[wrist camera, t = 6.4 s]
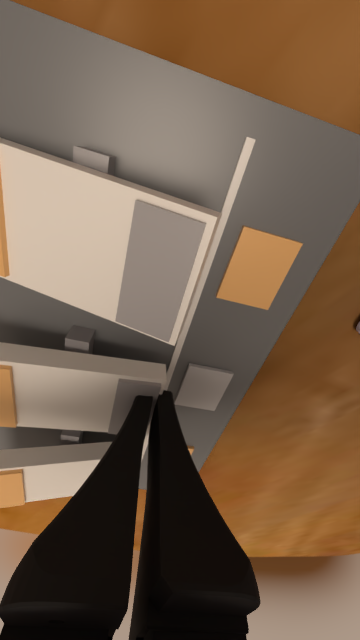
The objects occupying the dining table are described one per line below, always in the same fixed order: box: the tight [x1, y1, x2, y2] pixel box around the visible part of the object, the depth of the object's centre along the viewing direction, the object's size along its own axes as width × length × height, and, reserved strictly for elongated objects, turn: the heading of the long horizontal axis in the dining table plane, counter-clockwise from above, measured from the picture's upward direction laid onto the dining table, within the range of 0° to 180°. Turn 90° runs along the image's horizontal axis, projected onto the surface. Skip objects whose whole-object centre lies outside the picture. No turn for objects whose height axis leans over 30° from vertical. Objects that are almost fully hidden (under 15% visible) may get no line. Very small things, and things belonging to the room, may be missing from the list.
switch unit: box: [0, 0, 360, 490], centre depth 13 cm, size 16×24×2 cm, turn 165°
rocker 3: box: [0, 442, 112, 508], centre depth 15 cm, size 8×4×1 cm, turn 75°
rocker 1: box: [0, 138, 222, 346], centre depth 8 cm, size 8×4×1 cm, turn 75°
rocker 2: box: [0, 342, 167, 435], centre depth 11 cm, size 8×4×1 cm, turn 75°
